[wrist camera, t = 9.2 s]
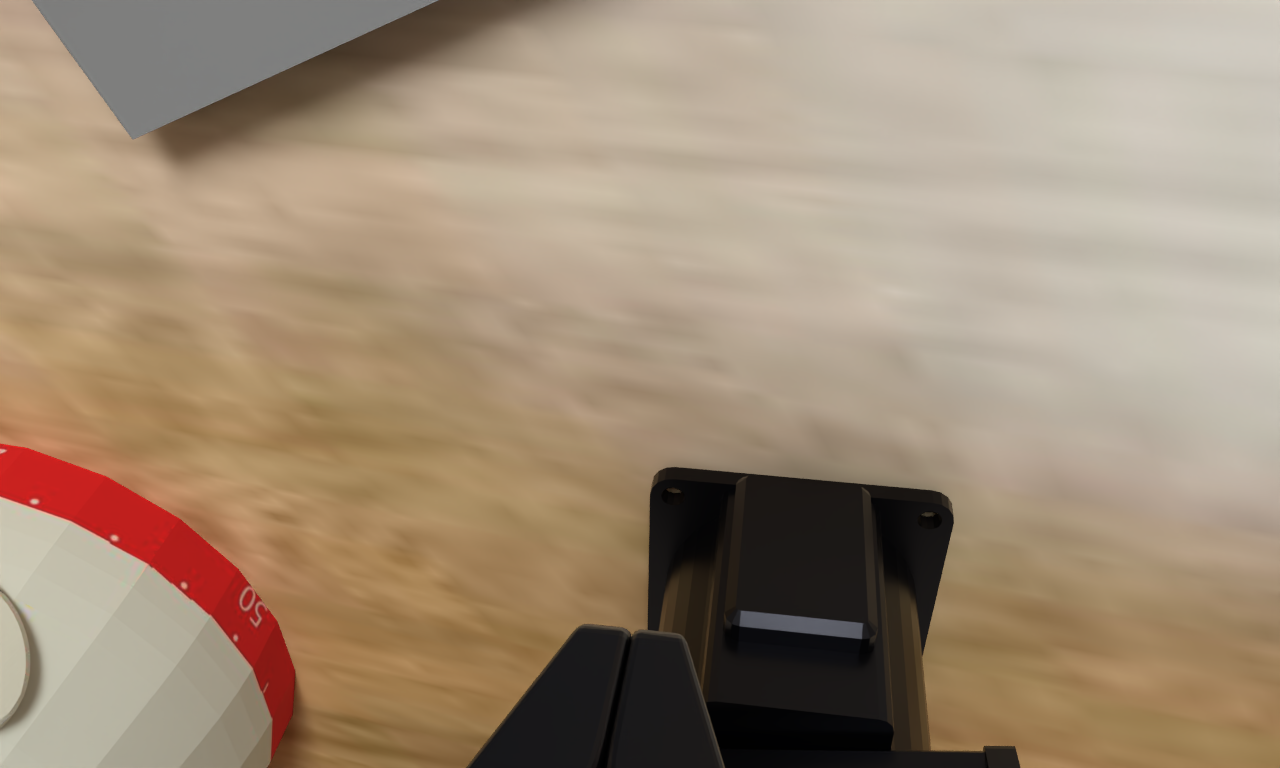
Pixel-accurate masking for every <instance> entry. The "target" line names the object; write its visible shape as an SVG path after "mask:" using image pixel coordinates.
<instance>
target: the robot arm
mask: <svg viewBox="0 0 1280 768" xmlns="http://www.w3.org/2000/svg"><path fill="white" fill-rule="evenodd" d="M667 488H677V489H679V490H681V491H682V492H681V493H672V492H669V491H667V490H666V489H667ZM925 512H935V513H938V514H936V515H934V516H930V517H925V516H922V515H921V514H923V513H925ZM953 524H954V518H953V509H952V503H951V502H950V500H949V498H948V497H947V496H945V495H944V494H942V493H940V492H936V491H932V490H921V489H910V488H899V487H888V486H877V485H866V484H855V483H844V482H833V481H822V480H811V479H800V478H789V477H778V476H767V475H756V474H745V473H734V472H723V471H712V470H701V469H690V468H679V467H671V468H665V469H663V470H660V471H659V472H658V473H657V474H656V475H655V476H654V479H653V482H652V488H651V493H650V535H649V589H648V630H638V631H636V632H635V633H634V634H633V635H632V637H631V634H630V632H629V631H628V630H627V629H625V628H623V627H614V626H604V625H595V624H583V625H581V626H579V627H578V628H577V629H576V630H575V631H574V632H573V633H572V634H571V635H570V636H569V638H568V639H567V640H566V642H565V643H564V644H563V645H562V647H561V648H560V649H559V650H558V652H557V653H556V654H555V655H554V657H553V658H552V659H551V661H550V662H549V663H548V664H547V666H546V667H545V668H544V669H543V671H542V672H541V673H540V675H539V676H538V677H537V678H536V680H535V681H534V682H533V683H532V685H531V686H530V687H529V688H528V690H527V691H526V692H525V694H524V695H523V696H522V697H521V699H520V700H519V701H518V702H517V704H516V705H515V706H514V707H513V709H512V710H511V711H510V713H509V714H508V715H507V716H506V718H505V719H504V720H503V721H502V723H501V724H500V725H499V726H498V728H497V729H496V730H495V732H494V733H493V734H492V735H491V737H490V738H489V739H488V740H487V742H486V743H485V744H484V746H483V747H482V748H481V749H480V751H479V752H478V753H477V754H476V756H475V757H474V758H473V759H472V761H471V762H470V763H469V765H468V766H467V767H466V768H1020V764H1019V760H1018V756H1017V752H1016V748H1015V746H984V748H983V751H931V747H930V736H929V725H928V715H927V704H926V693H925V683H924V672H923V662H922V655H923V651H924V647H925V643H926V638H927V634H928V630H929V626H930V621H931V617H932V613H933V609H934V604H935V600H936V596H937V592H938V587H939V583H940V579H941V575H942V570H943V566H944V562H945V558H946V553H947V549H948V545H949V541H950V536H951V532H952V528H953Z"/></svg>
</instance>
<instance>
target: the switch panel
mask: <svg viewBox="0 0 1280 768" xmlns="http://www.w3.org/2000/svg"><path fill="white" fill-rule="evenodd" d="M32 1H33V3H34V4H35V5H36V7H37V8H38V9H39V11H40V12H41V14H42V15H43V16H44V18H45V19H46V20H47V22H48V23H49V25H50V26H51V27H52V29H53V30H54V32H55V33H56V34H57V36H58V37H59V38H60V40H61V41H62V43H63V44H64V45H65V47H66V48H67V50H68V51H69V52H70V54H71V55H72V56H73V58H74V59H75V61H76V62H77V63H78V65H79V66H80V67H81V69H82V70H83V72H84V73H85V74H86V76H87V77H88V79H89V80H90V81H91V83H92V84H93V85H94V87H95V88H96V90H97V91H98V92H99V94H100V95H101V97H102V98H103V99H104V101H105V102H106V103H107V105H108V106H109V108H110V109H111V110H112V112H113V113H114V114H115V116H116V117H117V119H118V120H119V121H120V123H121V124H122V126H123V127H124V128H125V130H126V131H127V132H128V134H129V135H130V137H131V138H132V139H135V138H138V137H140V136H142V135H144V134H146V133H148V132H151V131H153V130H155V129H157V128H159V127H162V126H164V125H166V124H168V123H170V122H173V121H175V120H177V119H179V118H181V117H184V116H186V115H188V114H190V113H192V112H195V111H197V110H199V109H201V108H203V107H206V106H208V105H210V104H212V103H214V102H216V101H219V100H221V99H223V98H225V97H227V96H230V95H232V94H234V93H236V92H238V91H241V90H243V89H245V88H247V87H249V86H252V85H254V84H256V83H258V82H260V81H263V80H265V79H267V78H269V77H271V76H274V75H276V74H278V73H280V72H282V71H284V70H287V69H289V68H291V67H293V66H295V65H298V64H300V63H302V62H304V61H306V60H309V59H311V58H313V57H315V56H317V55H320V54H322V53H324V52H326V51H328V50H331V49H333V48H335V47H337V46H339V45H342V44H344V43H346V42H348V41H350V40H352V39H355V38H357V37H359V36H361V35H363V34H366V33H368V32H370V31H372V30H374V29H377V28H379V27H381V26H383V25H385V24H388V23H390V22H392V21H394V20H396V19H399V18H401V17H403V16H405V15H407V14H409V13H412V12H414V11H416V10H418V9H420V8H423V7H425V6H427V5H429V4H431V3H434V2H436V1H438V0H32Z"/></svg>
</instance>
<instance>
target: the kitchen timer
mask: <svg viewBox="0 0 1280 768" xmlns="http://www.w3.org/2000/svg"><path fill="white" fill-rule="evenodd" d="M294 683H295V669H294V666H293V664H292V661H291V658H290V655H289V652H288V650H287V647H286V644H285V641H284V639H283V636H282V633H281V630H280V628H279V625H278V622H277V620H276V619H275V618H274V616H273V615H272V614H271V612H270V611H269V610H268V608H267V607H266V606H265V604H264V603H263V602H262V600H261V599H260V598H259V596H258V595H257V594H256V592H255V591H254V589H253V588H252V587H251V585H250V584H249V583H248V581H247V580H246V579H245V577H244V576H243V575H242V573H241V572H240V571H239V569H238V568H237V567H235V566H234V565H233V564H232V563H231V562H230V561H228V560H227V559H226V558H225V557H224V556H223V555H221V554H220V553H219V552H218V551H217V550H216V549H214V548H213V547H212V546H211V545H210V544H209V543H207V542H206V541H205V540H204V539H203V538H202V537H200V536H199V535H198V534H197V533H196V532H195V531H193V530H192V529H191V528H190V527H189V526H188V525H186V524H185V523H184V522H183V521H182V520H181V519H179V518H178V517H176V516H174V515H172V514H171V513H169V512H167V511H165V510H164V509H162V508H160V507H158V506H157V505H155V504H153V503H152V502H150V501H148V500H146V499H145V498H143V497H141V496H139V495H138V494H136V493H134V492H132V491H131V490H129V489H127V488H126V487H124V486H122V485H120V484H119V483H117V482H115V481H113V480H112V479H110V478H108V477H106V476H104V475H101V474H98V473H95V472H92V471H90V470H87V469H84V468H81V467H79V466H76V465H73V464H70V463H67V462H65V461H62V460H59V459H56V458H54V457H51V456H48V455H45V454H42V453H40V452H37V451H34V450H31V449H28V448H25V447H18V446H11V445H5V444H0V768H267V767H268V765H269V764H270V762H271V760H272V758H273V755H274V753H275V751H276V749H277V747H278V745H279V743H280V740H281V738H282V736H283V734H284V732H285V730H286V727H287V725H288V723H289V721H290V719H291V717H292V715H293V701H294Z"/></svg>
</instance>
